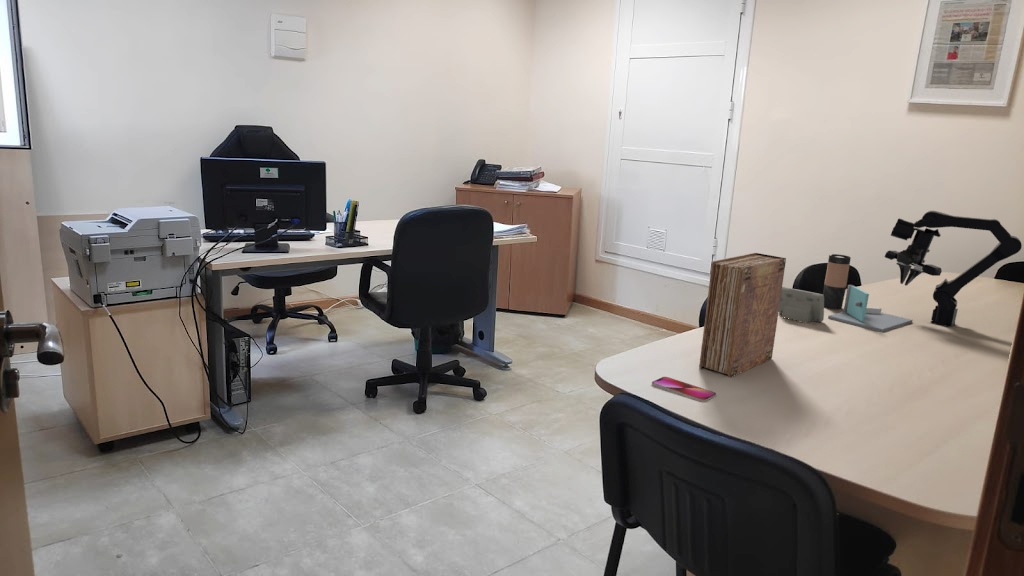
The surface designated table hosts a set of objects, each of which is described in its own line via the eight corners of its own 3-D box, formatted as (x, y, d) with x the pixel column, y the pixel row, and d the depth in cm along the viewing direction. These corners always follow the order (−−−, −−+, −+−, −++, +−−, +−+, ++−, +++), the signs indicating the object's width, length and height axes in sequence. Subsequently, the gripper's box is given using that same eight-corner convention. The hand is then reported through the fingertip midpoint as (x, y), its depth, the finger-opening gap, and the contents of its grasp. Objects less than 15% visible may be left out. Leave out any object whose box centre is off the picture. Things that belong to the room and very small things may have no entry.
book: (729, 378, 186) (743, 267, 179) (698, 368, 192) (711, 261, 185) (772, 358, 204) (786, 257, 197) (742, 350, 210) (755, 252, 203)
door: (839, 310, 259) (844, 284, 256) (848, 311, 258) (852, 284, 256) (856, 321, 245) (861, 293, 242) (865, 321, 245) (870, 294, 242)
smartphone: (704, 400, 168) (650, 382, 178) (703, 404, 168) (649, 386, 178) (718, 393, 174) (664, 375, 183) (717, 396, 174) (664, 379, 183)
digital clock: (825, 322, 246) (830, 293, 244) (811, 326, 241) (816, 296, 239) (784, 311, 259) (788, 283, 256) (770, 314, 254) (774, 286, 251)
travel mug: (846, 310, 266) (854, 258, 261) (825, 309, 266) (834, 257, 261) (837, 305, 273) (845, 254, 268) (817, 304, 273) (825, 253, 268)
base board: (912, 322, 253) (913, 314, 252) (881, 332, 238) (883, 323, 237) (858, 309, 267) (860, 302, 267) (826, 318, 253) (828, 310, 252)
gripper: (884, 235, 255) (868, 274, 261) (934, 253, 241) (916, 294, 246) (901, 236, 262) (885, 275, 267) (950, 254, 247) (932, 294, 252)
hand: (903, 284), depth 258 cm, fingers closed
